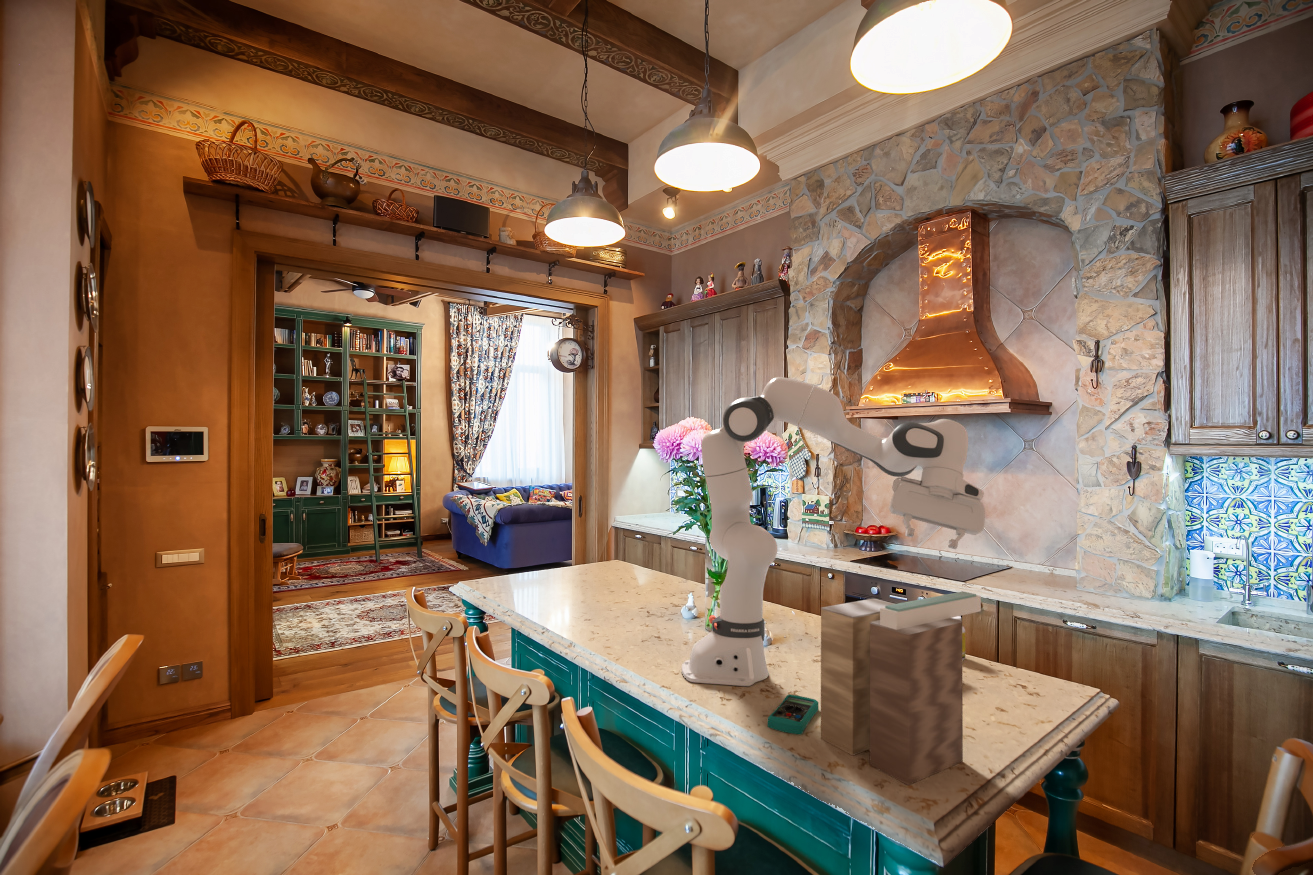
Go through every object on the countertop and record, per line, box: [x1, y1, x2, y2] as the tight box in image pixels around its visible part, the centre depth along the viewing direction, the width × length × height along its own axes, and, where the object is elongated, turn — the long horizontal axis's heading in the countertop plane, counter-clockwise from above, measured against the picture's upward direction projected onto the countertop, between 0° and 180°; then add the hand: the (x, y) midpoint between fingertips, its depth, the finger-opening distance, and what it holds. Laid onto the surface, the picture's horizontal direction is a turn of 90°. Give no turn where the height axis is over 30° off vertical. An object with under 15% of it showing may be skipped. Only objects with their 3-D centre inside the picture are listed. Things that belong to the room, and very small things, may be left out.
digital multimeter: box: [767, 694, 819, 736], centre depth 130 cm, size 7×15×3 cm, turn 151°
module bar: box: [880, 591, 982, 630], centre depth 115 cm, size 26×4×3 cm, turn 121°
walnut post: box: [869, 618, 964, 786], centre depth 112 cm, size 16×8×26 cm, turn 121°
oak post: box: [820, 598, 895, 756], centre depth 122 cm, size 16×8×26 cm, turn 122°
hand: (930, 542), depth 138 cm, fingers open, 8 cm apart
